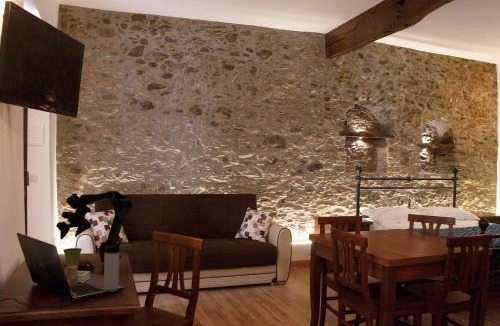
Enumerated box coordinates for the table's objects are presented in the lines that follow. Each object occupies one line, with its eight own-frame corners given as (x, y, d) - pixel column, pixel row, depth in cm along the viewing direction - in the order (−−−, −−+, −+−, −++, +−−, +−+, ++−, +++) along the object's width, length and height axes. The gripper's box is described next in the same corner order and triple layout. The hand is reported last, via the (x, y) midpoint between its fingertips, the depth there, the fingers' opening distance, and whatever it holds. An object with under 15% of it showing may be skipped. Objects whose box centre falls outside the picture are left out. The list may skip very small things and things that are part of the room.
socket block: (89, 279, 198) (90, 271, 198) (83, 284, 190) (83, 275, 190) (73, 279, 198) (73, 270, 198) (65, 284, 190) (66, 275, 190)
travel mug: (121, 289, 184) (123, 244, 184) (107, 292, 179) (109, 246, 179) (114, 286, 188) (115, 242, 188) (100, 289, 183) (102, 244, 183)
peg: (77, 285, 188) (77, 265, 188) (73, 288, 184) (74, 268, 184) (68, 285, 188) (68, 265, 188) (64, 288, 184) (65, 267, 184)
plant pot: (58, 266, 221) (59, 250, 221) (71, 262, 230) (71, 247, 230) (73, 268, 218) (73, 252, 218) (85, 264, 227) (85, 248, 227)
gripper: (84, 204, 232) (73, 226, 236) (56, 207, 215) (44, 230, 219) (96, 216, 228) (85, 238, 232) (68, 219, 211) (56, 244, 215)
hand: (68, 237), depth 224 cm, fingers open, 9 cm apart
